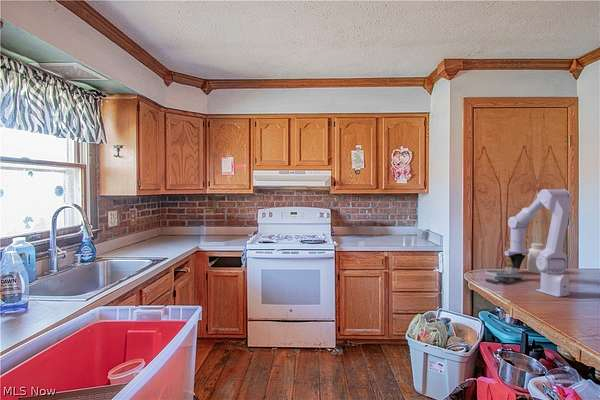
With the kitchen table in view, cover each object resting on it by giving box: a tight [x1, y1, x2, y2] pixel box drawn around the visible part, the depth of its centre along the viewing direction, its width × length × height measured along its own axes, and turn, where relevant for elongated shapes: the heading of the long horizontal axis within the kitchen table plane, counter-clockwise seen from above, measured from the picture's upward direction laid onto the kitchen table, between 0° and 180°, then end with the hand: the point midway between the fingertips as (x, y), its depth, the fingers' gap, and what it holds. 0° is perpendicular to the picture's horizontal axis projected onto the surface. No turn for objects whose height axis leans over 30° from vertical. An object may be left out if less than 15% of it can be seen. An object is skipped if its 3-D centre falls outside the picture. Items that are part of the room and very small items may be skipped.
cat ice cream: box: [504, 240, 513, 267], centre depth 178 cm, size 9×8×18 cm
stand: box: [485, 276, 523, 285], centre depth 163 cm, size 7×18×2 cm, turn 112°
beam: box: [484, 269, 524, 279], centre depth 163 cm, size 6×18×2 cm, turn 112°
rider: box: [503, 266, 520, 274], centre depth 165 cm, size 3×5×4 cm
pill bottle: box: [526, 242, 544, 275], centre depth 180 cm, size 8×8×15 cm
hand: (516, 269), depth 166 cm, fingers closed
